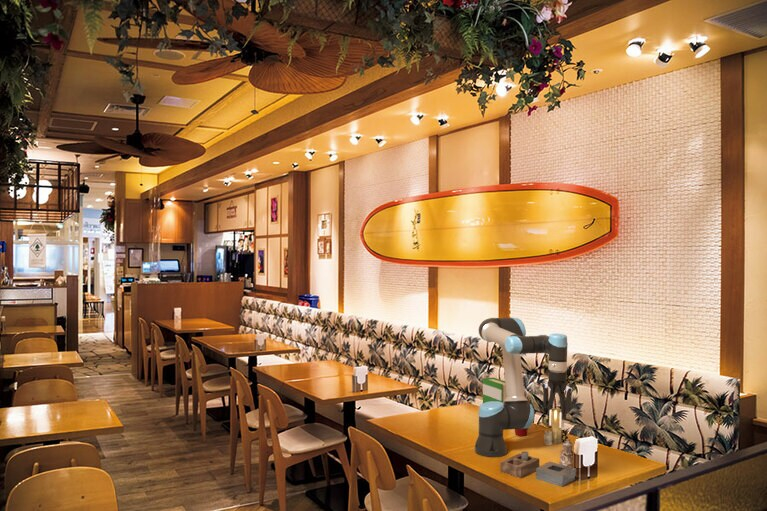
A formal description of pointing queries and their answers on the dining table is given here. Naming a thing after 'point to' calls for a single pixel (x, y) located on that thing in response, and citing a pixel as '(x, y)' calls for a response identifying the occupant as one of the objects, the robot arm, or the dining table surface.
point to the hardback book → (494, 390)
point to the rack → (519, 465)
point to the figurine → (567, 454)
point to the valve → (549, 437)
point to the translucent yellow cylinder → (556, 426)
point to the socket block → (555, 473)
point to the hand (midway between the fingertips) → (556, 425)
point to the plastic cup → (521, 432)
